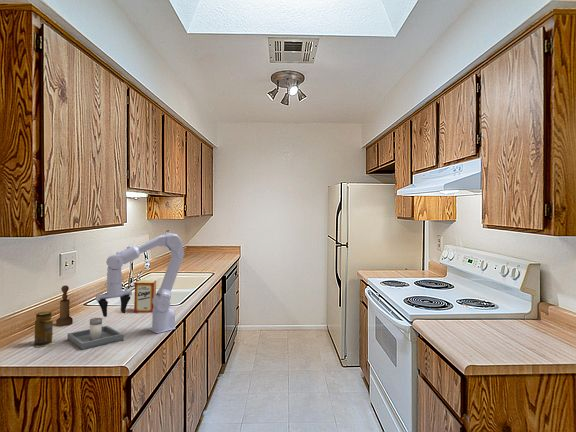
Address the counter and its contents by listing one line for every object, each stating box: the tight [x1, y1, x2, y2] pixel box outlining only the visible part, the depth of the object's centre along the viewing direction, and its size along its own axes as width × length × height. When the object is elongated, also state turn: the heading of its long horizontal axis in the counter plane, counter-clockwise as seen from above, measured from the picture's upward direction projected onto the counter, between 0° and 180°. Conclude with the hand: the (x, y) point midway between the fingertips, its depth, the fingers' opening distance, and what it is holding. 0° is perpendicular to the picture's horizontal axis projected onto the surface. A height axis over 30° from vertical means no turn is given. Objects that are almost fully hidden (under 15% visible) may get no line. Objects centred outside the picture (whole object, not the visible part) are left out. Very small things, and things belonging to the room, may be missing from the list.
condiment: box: [30, 311, 58, 348], centre depth 153 cm, size 7×8×12 cm
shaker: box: [89, 317, 103, 340], centre depth 158 cm, size 5×5×8 cm
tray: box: [67, 325, 124, 351], centre depth 158 cm, size 16×16×2 cm
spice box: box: [133, 279, 157, 314], centre depth 203 cm, size 10×6×16 cm
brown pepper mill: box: [55, 285, 74, 327], centre depth 177 cm, size 7×6×18 cm
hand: (114, 314), depth 163 cm, fingers open, 7 cm apart
